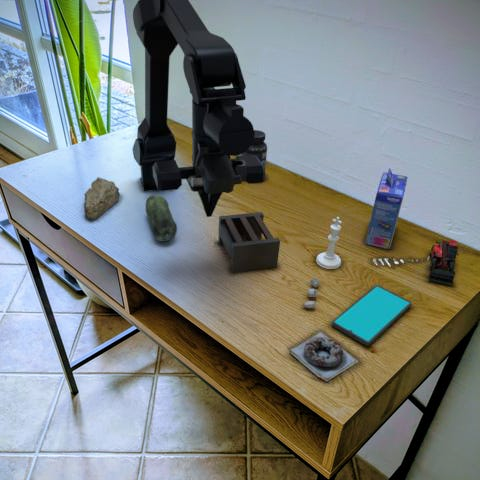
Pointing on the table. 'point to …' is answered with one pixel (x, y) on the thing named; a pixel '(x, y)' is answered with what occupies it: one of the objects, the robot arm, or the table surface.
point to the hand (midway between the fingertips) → (208, 215)
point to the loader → (443, 261)
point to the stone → (100, 197)
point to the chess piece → (331, 249)
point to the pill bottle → (258, 147)
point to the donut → (323, 356)
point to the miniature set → (394, 260)
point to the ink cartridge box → (386, 210)
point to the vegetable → (160, 218)
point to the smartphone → (371, 315)
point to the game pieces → (312, 293)
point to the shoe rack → (248, 242)
